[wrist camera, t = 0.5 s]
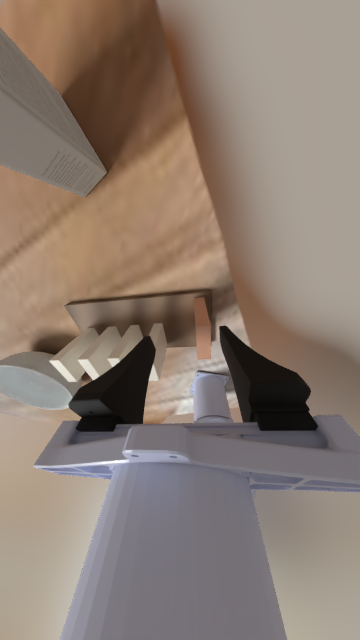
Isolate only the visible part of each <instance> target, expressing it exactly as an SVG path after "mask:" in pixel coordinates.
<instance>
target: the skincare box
mask: <svg viewBox="0 0 360 640" xmlns="http://www.w3.org/2000/svg"><path fill="white" fill-rule="evenodd" d="M0 165H2V166H4V167H7V168H9V169H12V170H15V171H17V172H20V173H23V174H25V175H28V176H30V177H33V178H35V179H38V180H41V181H43V182H46V183H48V184H51V185H54V186H56V187H59V188H62V189H64V190H67V191H69V192H72V193H75V194H77V195H80V196H82V197H86V196H87V195H88V194H89V192H90V191H91V190H92V189H93V188H94V187H95V186H96V184H97V183H98V182H99V181H100V180H101V179H102V178H103V177H104V175H105V174H106V173H107V171H106V169H105V167H104V166H103V164H102V163H101V161H100V159H99V158H98V156H97V154H96V153H95V151H94V149H93V148H92V146H91V144H90V143H89V141H88V139H87V138H86V136H85V134H84V133H83V131H82V129H81V128H80V126H79V124H78V123H77V121H76V120H75V118H74V116H73V115H72V113H71V111H70V110H69V108H68V106H67V105H66V103H65V101H64V100H63V98H62V96H61V95H60V93H59V92H58V91H57V90H56V89H55V88H54V87H53V86H52V84H51V83H50V82H49V81H48V80H47V79H46V78H45V77H44V75H43V74H42V73H41V72H40V71H39V70H38V69H37V68H36V67H35V65H34V64H33V63H32V62H31V61H30V60H29V59H28V58H27V57H26V56H25V54H24V53H23V52H22V51H21V50H20V49H19V48H18V47H17V46H16V44H15V43H14V42H13V41H12V40H11V39H10V38H9V37H8V36H7V35H6V33H5V32H4V31H3V30H2V29H1V28H0Z"/></svg>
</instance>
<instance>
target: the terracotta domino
mask: <svg viewBox="0 0 360 640" xmlns="http://www.w3.org/2000/svg"><path fill="white" fill-rule="evenodd" d="M194 313H195V328H196V342H197V356H198V359H211V325H210V320H209V316H208V312H207V308H206V304H205V300H204V297H199V298H194Z"/></svg>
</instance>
